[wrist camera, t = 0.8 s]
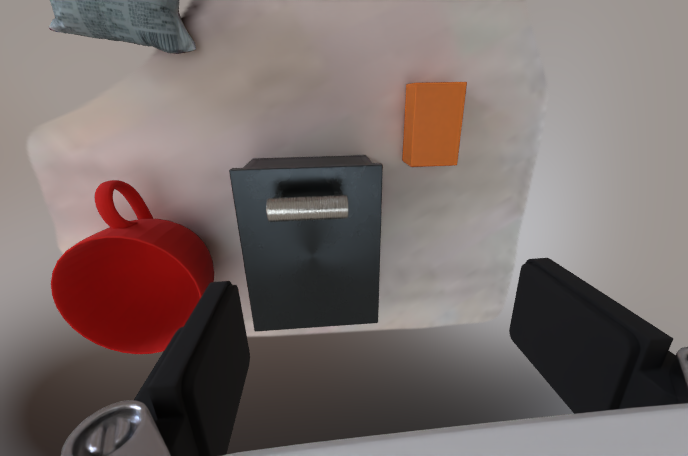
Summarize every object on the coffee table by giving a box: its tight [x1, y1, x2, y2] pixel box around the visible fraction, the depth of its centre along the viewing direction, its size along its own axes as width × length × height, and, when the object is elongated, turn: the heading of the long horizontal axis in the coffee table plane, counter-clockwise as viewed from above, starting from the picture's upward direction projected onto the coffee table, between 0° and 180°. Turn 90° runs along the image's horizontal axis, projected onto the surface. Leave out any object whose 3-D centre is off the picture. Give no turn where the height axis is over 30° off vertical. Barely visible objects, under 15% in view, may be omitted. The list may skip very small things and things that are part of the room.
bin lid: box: [229, 163, 383, 331], centre depth 28 cm, size 16×13×5 cm
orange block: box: [402, 82, 467, 167], centre depth 33 cm, size 8×5×4 cm, turn 1°
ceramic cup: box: [51, 180, 214, 354], centre depth 33 cm, size 13×17×10 cm
